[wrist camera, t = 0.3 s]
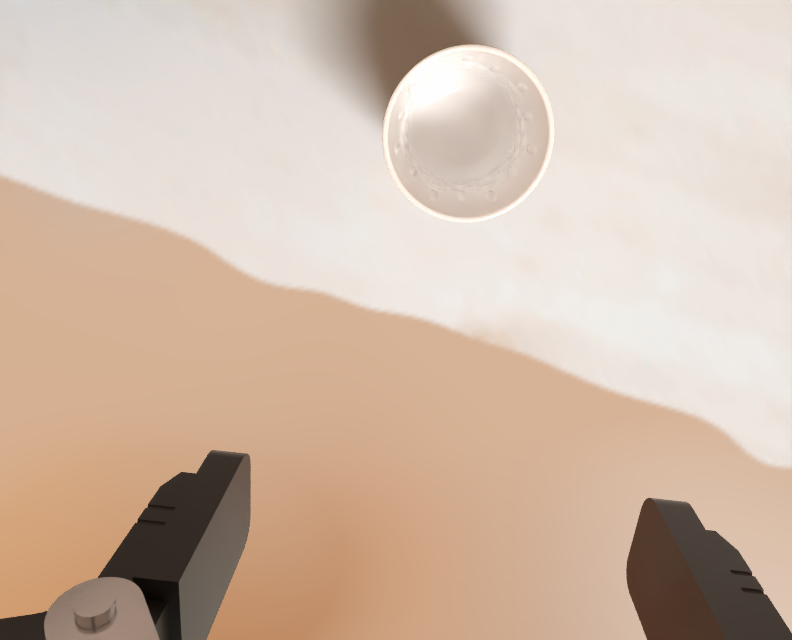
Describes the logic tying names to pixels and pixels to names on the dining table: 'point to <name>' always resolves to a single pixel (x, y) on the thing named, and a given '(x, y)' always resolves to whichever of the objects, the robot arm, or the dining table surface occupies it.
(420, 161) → the white cup
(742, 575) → the robot arm
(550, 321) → the dining table surface
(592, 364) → the dining table surface
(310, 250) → the dining table surface
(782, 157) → the dining table surface
